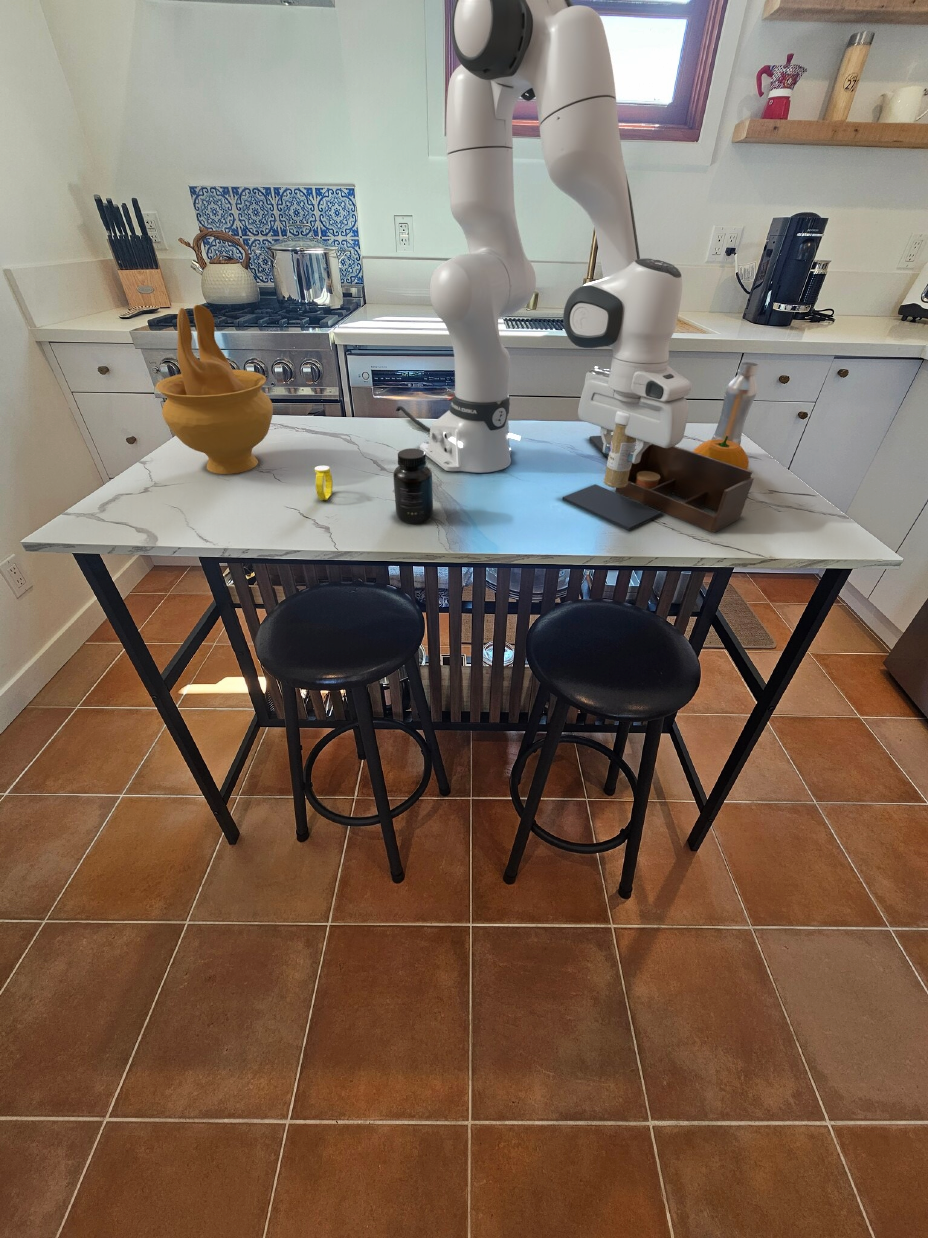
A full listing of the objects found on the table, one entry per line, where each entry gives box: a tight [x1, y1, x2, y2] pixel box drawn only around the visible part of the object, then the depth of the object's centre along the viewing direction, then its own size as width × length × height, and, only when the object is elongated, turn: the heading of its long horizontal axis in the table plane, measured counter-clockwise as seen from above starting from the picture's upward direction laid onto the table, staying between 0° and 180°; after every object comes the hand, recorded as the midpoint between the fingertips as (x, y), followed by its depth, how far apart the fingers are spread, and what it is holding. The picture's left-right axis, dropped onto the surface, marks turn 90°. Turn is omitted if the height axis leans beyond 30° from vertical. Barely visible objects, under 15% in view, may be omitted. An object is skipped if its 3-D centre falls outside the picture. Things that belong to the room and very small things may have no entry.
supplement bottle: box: [392, 447, 434, 525], centre depth 97 cm, size 7×7×12 cm
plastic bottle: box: [710, 361, 760, 446], centre depth 121 cm, size 6×7×20 cm
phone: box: [588, 434, 613, 459], centre depth 129 cm, size 7×1×15 cm
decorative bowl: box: [155, 304, 274, 475], centre depth 110 cm, size 21×21×30 cm
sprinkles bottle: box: [603, 411, 637, 489], centre depth 98 cm, size 5×5×14 cm
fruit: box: [692, 436, 750, 470], centre depth 112 cm, size 12×12×10 cm
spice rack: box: [614, 443, 755, 534], centre depth 104 cm, size 22×9×9 cm, turn 40°
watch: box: [314, 465, 333, 501], centre depth 105 cm, size 6×3×6 cm, turn 175°
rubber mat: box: [561, 483, 663, 532], centre depth 105 cm, size 16×10×1 cm, turn 40°
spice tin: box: [635, 471, 660, 489], centre depth 110 cm, size 5×5×4 cm
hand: (620, 457), depth 99 cm, fingers closed on sprinkles bottle, 4 cm apart
